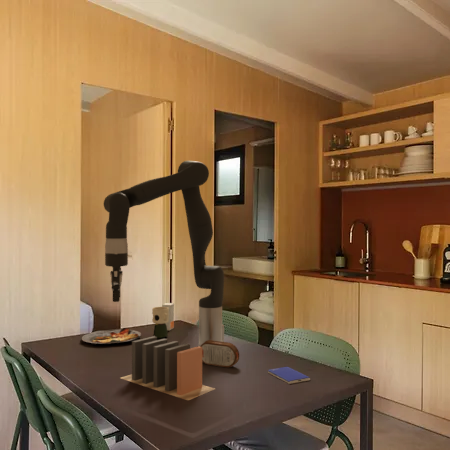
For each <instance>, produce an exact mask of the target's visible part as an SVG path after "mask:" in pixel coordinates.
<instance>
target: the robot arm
mask: <svg viewBox="0 0 450 450" xmlns="http://www.w3.org/2000/svg"><path fill="white" fill-rule="evenodd" d="M209 176H210V171H209V168H208V166H207V165H206V164H204V162H201V161H195V160H184V161H182V162H181V163H180V164H179V165H178V168H177V172H176V173H173V174H171V175H170V174H169V175H167V176H163V177H162V176H161V177H157V178H153V179H149V180H146V181H142V182H140V183H137V184H136V185H132V186H131V187H129V188H126V189H122V190H119V191H116V192H113V193H110V194H108V195H107V196H106V197H105V198H104V199H103V208H104V210H105V211H106V212H107V213H108V221H107V223H106V225H105V244H104V265H105V266H106V267H112V270H111V271H110V275H109V276H110V285H111V291H112V302H114V303H119V302H120V298H121V286H122V283H123V274H124V273H123V270H122V268H121V267H126V266H128V265H129V262H128V261H129V257H128V255H129V249H128V248H129V247H128V246H129V245H128V244H129V243H128V226H127V225H128V221H129V216H130V215H129V214H130V209H131V208H134V207H135V206H141V205H144V204H146V203H149V202H152V201H155V200H156V199H159V198H162V197H164V196H166V195H169V194H172V193H175V192H179V191H181V193H182V198H183V203H184V208H185V215H186V216H185V217H186V221H187V228H188V233H189V234H188V235H189V240H190V245H191V251H192V260H193V261H192V263H193V275H194V282H195V285H196V286H197V288H199V289H202V290H203V289H205V290H210V292H209V294H208V295H207V296H204V297H201V298H199V301H198V346H201V345H202V344H203V343H204V342H205V341H208V340H213V341H220V342H225V325H224V324H223V301H224V289H225V288H224V287H225V286H224V285H225V273H224V270H223V268H222V266H219V265H206V252H207V251H208V247H209V245H210V243H211V242H212V238H213V235H214V230H213V223H212V218H211V215H210V211H209V209H208V208H207V206H206V204H205V202H204V200H203V198H202V194H201V189H200V186H202V185H204V184H205V183H207V181H208V179H209Z"/></svg>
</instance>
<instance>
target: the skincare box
mask: <svg viewBox="0 0 450 450" xmlns="http://www.w3.org/2000/svg"><path fill="white" fill-rule="evenodd" d="M161 307H168V308H169V321H168V322H167V323H165V324H166V326H167V331H171V330H173V329H174V327H175V303H173V302H165V303H163V304H162V305H161Z"/></svg>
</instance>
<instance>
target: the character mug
mask: <svg viewBox="0 0 450 450" xmlns="http://www.w3.org/2000/svg"><path fill="white" fill-rule="evenodd" d="M151 314H152V324H154V326H153V336H155V337H157V339H164V338H165V337H166V338H167V337H168V330H167V326H166V324H165V323H167V322H168V321H169V308H168V307H162V306H154V307H152V313H151Z"/></svg>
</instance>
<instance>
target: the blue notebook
mask: <svg viewBox="0 0 450 450" xmlns="http://www.w3.org/2000/svg"><path fill="white" fill-rule="evenodd" d="M267 373H268V374H269V375H271V376H273V377H275V378H277V379H279V380H281V381H283V382H284V383H286V384H288V385H290V384H296V383H301V382H306V381H307V382H308V381H310V380H311V377H310V376H307V375H306V374H303V373H302V372H299V371H298V370H296V369H293V368H292V367H289V366H282V367H277V368H271V369H268V370H267Z"/></svg>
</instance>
